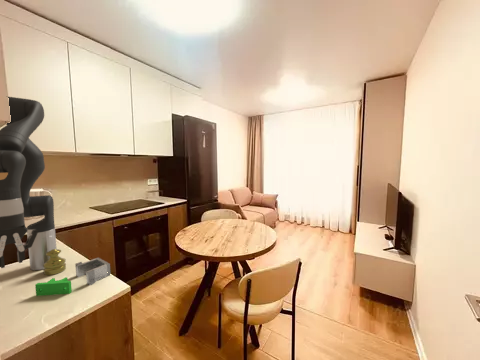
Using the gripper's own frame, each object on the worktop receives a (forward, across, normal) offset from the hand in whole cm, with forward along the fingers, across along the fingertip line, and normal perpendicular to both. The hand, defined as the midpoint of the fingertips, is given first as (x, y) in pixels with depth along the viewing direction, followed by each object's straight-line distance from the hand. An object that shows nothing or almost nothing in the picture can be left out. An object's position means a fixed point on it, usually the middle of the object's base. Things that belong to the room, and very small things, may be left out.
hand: (11, 264), depth 65 cm
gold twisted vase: (+15, -15, -19) cm, 29 cm away
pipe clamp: (+16, -10, +1) cm, 19 cm away
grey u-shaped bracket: (+15, -22, 0) cm, 27 cm away
